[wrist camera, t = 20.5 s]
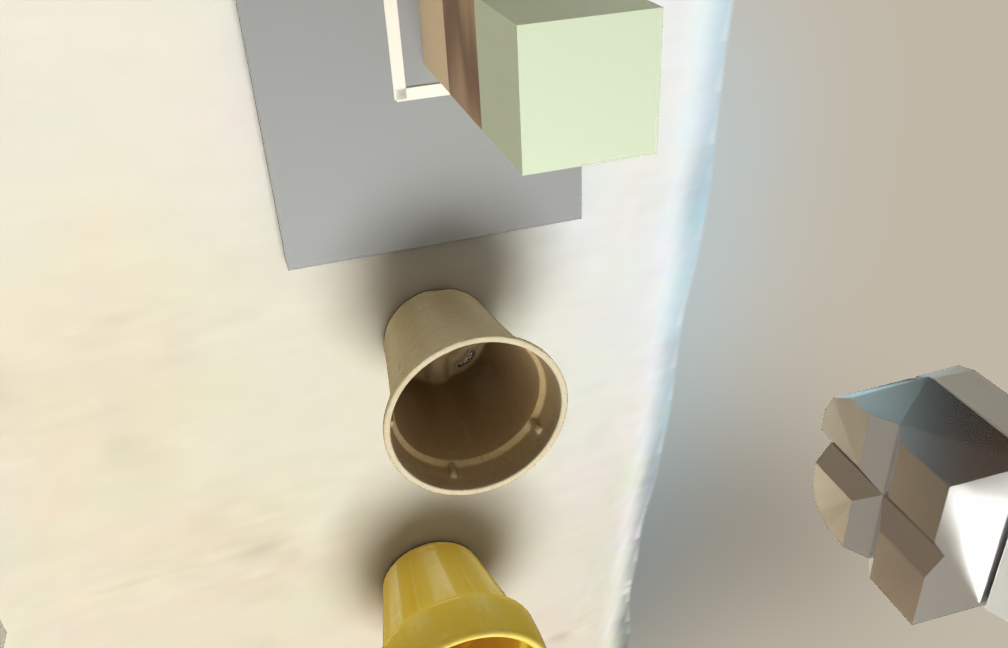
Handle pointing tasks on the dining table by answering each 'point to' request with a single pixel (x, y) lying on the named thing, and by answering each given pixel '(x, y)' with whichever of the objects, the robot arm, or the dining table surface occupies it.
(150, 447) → the dining table surface
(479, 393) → the flower pot
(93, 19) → the dining table surface
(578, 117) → the sage block
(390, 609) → the plant pot
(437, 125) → the building board
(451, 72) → the walnut block
